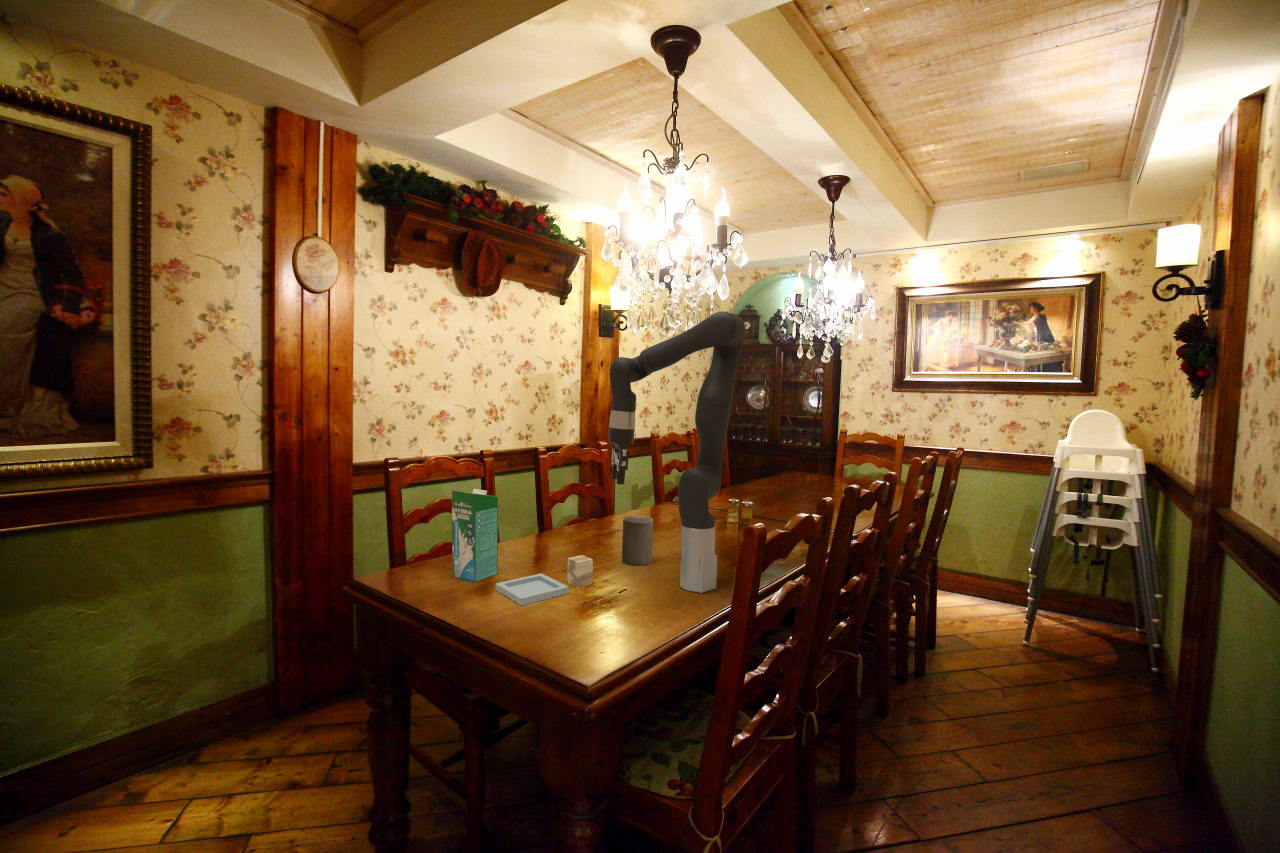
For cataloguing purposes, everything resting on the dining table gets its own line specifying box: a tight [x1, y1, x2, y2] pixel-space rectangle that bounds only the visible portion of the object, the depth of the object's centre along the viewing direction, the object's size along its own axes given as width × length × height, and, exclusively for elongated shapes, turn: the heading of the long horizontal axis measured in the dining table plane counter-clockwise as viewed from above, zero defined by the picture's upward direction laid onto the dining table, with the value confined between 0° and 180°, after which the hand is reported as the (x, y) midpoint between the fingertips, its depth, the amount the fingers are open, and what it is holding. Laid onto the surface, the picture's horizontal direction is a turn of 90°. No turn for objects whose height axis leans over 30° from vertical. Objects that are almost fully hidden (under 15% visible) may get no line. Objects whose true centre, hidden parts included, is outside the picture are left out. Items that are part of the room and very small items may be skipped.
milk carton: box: [451, 488, 499, 583], centre depth 165 cm, size 9×9×25 cm
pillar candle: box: [621, 514, 654, 566], centre depth 181 cm, size 10×10×15 cm
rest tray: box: [495, 572, 570, 606], centre depth 153 cm, size 14×14×2 cm
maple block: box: [566, 554, 594, 588], centre depth 160 cm, size 5×5×7 cm
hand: (617, 481), depth 168 cm, fingers open, 8 cm apart
